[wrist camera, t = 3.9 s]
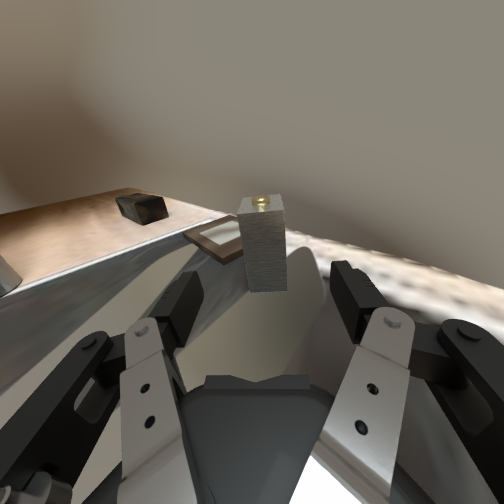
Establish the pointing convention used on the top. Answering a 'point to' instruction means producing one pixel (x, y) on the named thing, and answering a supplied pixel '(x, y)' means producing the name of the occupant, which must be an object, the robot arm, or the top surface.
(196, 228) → the mount plate
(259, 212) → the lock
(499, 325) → the top surface
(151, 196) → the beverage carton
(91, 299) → the top surface
